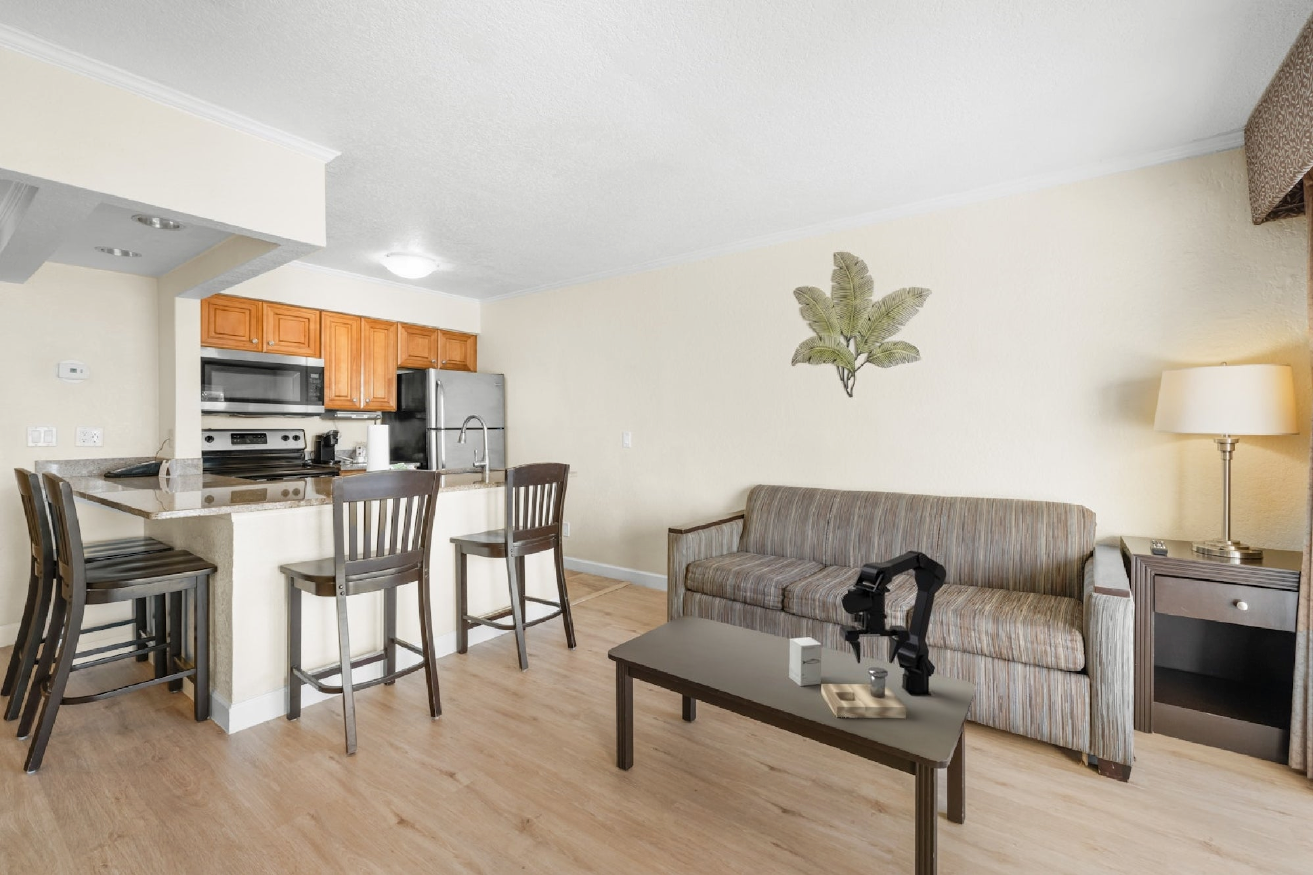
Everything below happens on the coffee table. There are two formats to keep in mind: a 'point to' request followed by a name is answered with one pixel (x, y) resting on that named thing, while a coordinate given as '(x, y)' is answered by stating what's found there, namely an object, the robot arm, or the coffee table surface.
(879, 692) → the flared metal knob
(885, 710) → the plate
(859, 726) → the coffee table surface
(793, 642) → the supplement box
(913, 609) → the robot arm
